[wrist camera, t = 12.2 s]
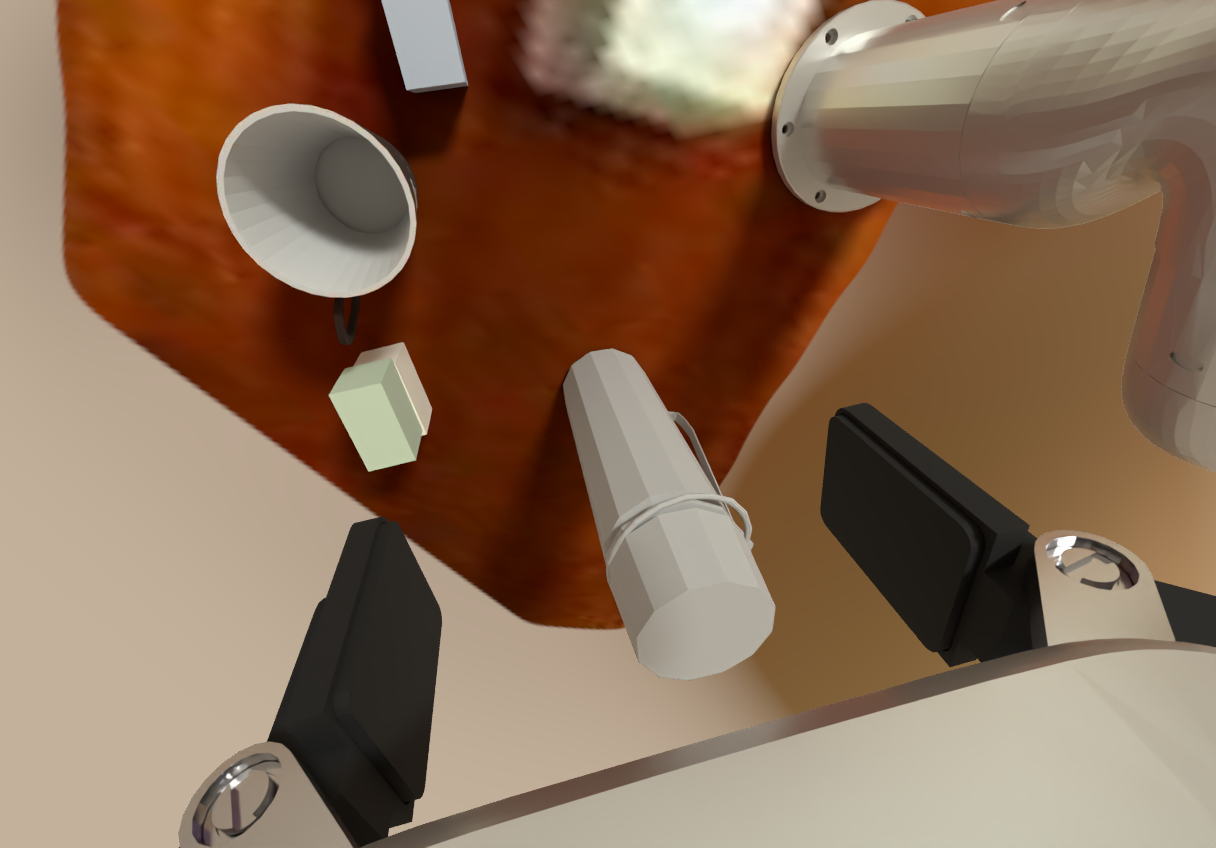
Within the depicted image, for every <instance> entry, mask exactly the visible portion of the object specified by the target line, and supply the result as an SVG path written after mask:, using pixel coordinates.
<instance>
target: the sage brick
mask: <svg viewBox="0 0 1216 848" xmlns="http://www.w3.org/2000/svg"><path fill="white" fill-rule="evenodd" d="M329 397H330V399H331V401H332V403H333V405H334V406H335V408H336V410H337V412H338V414H339V416H340V418H341V420H342V422H343V424H344V426H345V428H346V429H347V431H348V433H349V435H350V437H351V439H352V441H353V443H354V445H355V447H356V449H357V450H358V452H359V454H360V456H361V458H362V460H363V462H364V464H365V466H366V468H367V470H368V472H369V471H373V470H378V469H382V468H386V467H390V466H394V465H398V464H402V463H406V462H411V461H415V460H416V457H417V453H418V448H419V444H420V440H421V435H422V431H423V430H422V427H421V425H420V423H419V420H418V418H417V416H416V413H415V411H414V409H413V406H412V404H411V402H410V399H409V397H408V395H407V392H406V390H405V388H404V385H403V383H402V381H401V378H400V376H399V374H398V371H397V369H396V367H395V364H394V362H393V360H392V358H389V359H384V360H380V361H375V362H371V363H366V364H362V365H358V366H353V367H349V368H345V369H344V370H343V372H342V374H341V375H340V377H339V379H338V380H337V382H336V384H335V385H334V387H333V389H332V390H331V392H330V394H329Z"/></svg>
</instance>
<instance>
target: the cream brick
mask: <svg viewBox="0 0 1216 848" xmlns="http://www.w3.org/2000/svg"><path fill="white" fill-rule="evenodd" d="M389 358H392V360H393V362H394V364H395V367H396V369H397V371H398V374H399V376H400V378H401V381H402V383H403V385H404V388H405V390H406V392H407V395H408V397H409V399H410V402H411V404H412V406H413V409H414V411H415V413H416V416H417V418H418V420H419V423H420V425H421V427H422V430H423V431H422V435H421V436H423V435H427V431H428V426H429V422H430V417H431V412H432V408H431V405H430V403H429V401H428V398H427V396H426V394H425V391H424V389H423V387H422V384H421V382H420V380H419V377H418V375H417V373H416V370H415V368H414V366H413V363H412V361H411V359H410V356H409V354H408V352H407V349H406V347H405V345H404V342H402V343H398V344H394V345H390V346H386V347H382V348H377V349H373V350H369V351H365V352H361V354H360V355H359V357H358V359H357V361H356V362H355V364H354V366H358V365H362V364H366V363H371V362H375V361H380V360H384V359H389Z"/></svg>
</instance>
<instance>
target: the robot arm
mask: <svg viewBox="0 0 1216 848" xmlns="http://www.w3.org/2000/svg"><path fill="white" fill-rule="evenodd" d="M825 36H827V40H826V41H825ZM783 126H785V130H784V132H783V133H782V128H783ZM771 140H772V150H773V156H774V160H775V163H776V167H777V170H778V172H779V174H780V176H781V178H782V180H783V182H784V184H785V186H786V187H787V188H788V189H789V190H790V191H791V193H792V194H793V195H794V196H795V197H796V198H798V199H799V200H800V201H802V202H803V203H805V204H806V205H809V206H811V207H814V208H816V209H819V210H824V211H828V212H849V211H854V210H859V209H862V208H864V207H867V206H869V205H871V204H874V203H876V202H877V201H879V200H880V199H887V200H892V201H897V202H902V203H907V204H912V205H917V206H922V207H926V208H931V209H936V210H941V211H946V212H951V213H956V214H961V215H966V216H971V217H975V218H980V219H986V220H991V221H996V222H1001V223H1006V224H1012V225H1017V226H1022V227H1030V228H1061V227H1067V226H1073V225H1079V224H1083V223H1086V222H1090V221H1093V220H1096V219H1099V218H1102V217H1104V216H1107V215H1110V214H1112V213H1115V212H1117V211H1120V210H1122V209H1124V208H1126V207H1129V206H1131V205H1133V204H1135V203H1137V202H1139V201H1141V200H1143V199H1145V198H1147V197H1149V196H1151V195H1153V194H1155V193H1157V192H1159V191H1160V190H1162V192H1163V208H1162V213H1161V217H1160V222H1159V227H1158V231H1157V235H1156V239H1155V253H1154V256H1153V260H1152V264H1151V268H1150V271H1149V275H1148V278H1147V282H1146V285H1145V289H1144V293H1143V296H1142V300H1141V303H1140V307H1139V310H1138V314H1137V317H1136V322H1135V325H1134V329H1133V332H1132V335H1131V339H1130V343H1129V347H1128V350H1127V354H1126V358H1125V363H1124V369H1123V374H1122V380H1121V392H1122V400H1123V405H1124V408H1125V411H1126V413H1127V415H1128V417H1129V419H1130V421H1131V422H1132V424H1133V425H1134V426H1135V427H1136V428H1137V429H1138V431H1139V432H1140V433H1141V434H1142V435H1143V436H1144V437H1145V438H1146V439H1148V440H1149V441H1150V442H1152V443H1153V444H1155V445H1156V446H1157V447H1159V448H1161V449H1162V450H1164V451H1166V452H1167V453H1169V454H1170V455H1172V456H1174V457H1177V458H1179V459H1181V460H1183V461H1185V462H1188V463H1190V464H1192V465H1195V466H1197V467H1200V468H1203V469H1205V470H1208V471H1211V472H1215V473H1216V0H997V1H993V2H989V3H984V4H980V5H976V6H972V7H968V8H963V9H959V10H955V11H951V12H947V13H942V14H938V15H934V16H930V17H925V16H924V15H923V14H922V13H921V12H920V11H919V10H917V9H915V8H914V7H912V6H910V5H909V4H907V3H903V2H899V1H895V0H872V1H868V2H864V3H861V4H857V5H855V6H852V7H850V8H847V9H845V10H843V11H840V12H839V13H837V14H836V15H834V16H833V17H831V18H830V19H828V20H827V21H825V22H824V23H823V24H822V25H821V26H820V27H819V28H817V29H816V30H815V31H814V32H813V33H812V34H811V35H810V36H809V37H808V38H807V40H806V41H805V42H804V44H803V45H802V46H801V48H800V49H799V50H798V52H797V53H796V54H795V56H794V58H793V60H792V61H791V63H790V65H789V67H788V69H787V71H786V73H785V74H784V77H783V80H782V82H781V85H780V88H779V90H778V93H777V96H776V101H775V106H774V110H773V115H772V129H771ZM816 193H817V195H816ZM815 195H816V197H815ZM821 516H822V519H823V521H824V523H825V525H826V526H827V527H828V529H829V530H830V531H831V532H832V534H833V535H834V536H835V537H836V538H837V540H838V541H839V542H840V543H841V545H842V546H843V547H844V548H845V549H846V551H847V552H848V553H849V554H850V556H851V557H852V558H853V559H854V561H855V562H856V563H857V564H858V565H859V567H860V568H861V569H862V570H863V571H864V573H865V574H866V575H867V576H868V577H869V579H870V580H871V581H872V583H873V584H874V585H875V586H876V587H877V589H878V590H879V591H880V592H881V594H882V595H883V596H884V597H885V598H886V600H887V601H888V602H889V603H890V604H891V606H892V607H893V608H894V609H895V611H896V612H897V613H898V614H899V615H900V617H901V618H902V619H903V620H904V622H905V623H906V624H907V625H908V627H909V628H910V629H911V630H912V631H913V632H914V634H915V635H916V636H917V638H918V639H919V640H920V641H921V642H922V644H923V645H924V646H925V647H926V648H927V649H928V650H930V651H932V652H938V653H939V655H940V656H941V657H942V658H943V659H944V661H945V662H946V663H947V664H948V665H949V667H953V666H956V665H959V664H963V663H967V662H970V661H974V660H976V659H977V658H978V659H979V661H980V662H981V663H978V664H974V665H971V666H967V667H963V668H959V669H955V670H951V671H947V672H944V673H940V674H937V675H933V676H929V677H926V678H923V679H919V680H915V681H912V682H908V683H905V684H902V685H897V686H894V687H890V688H887V689H884V690H880V691H876V692H873V693H869V694H866V695H862V696H858V697H855V698H851V699H848V700H844V701H841V702H837V703H834V704H830V705H827V706H823V707H819V708H816V709H812V710H809V711H805V712H802V713H798V714H795V715H791V716H788V717H784V718H781V719H778V720H774V721H771V722H767V723H763V724H760V725H757V726H753V727H750V728H746V729H743V730H739V731H736V732H732V733H729V734H725V735H722V736H718V737H715V738H711V739H708V740H705V741H701V742H698V743H694V744H691V745H687V746H684V747H680V748H677V749H673V750H670V751H666V752H663V753H659V754H656V755H653V756H649V757H646V758H642V759H639V760H635V761H632V762H629V763H625V764H622V765H618V766H615V767H612V768H608V769H605V770H601V771H598V772H595V773H591V774H588V775H584V776H581V777H577V778H574V779H571V780H568V781H564V782H561V783H557V784H554V785H550V786H547V787H543V788H540V789H536V790H533V791H530V792H526V793H523V794H520V795H516V796H513V797H509V798H506V799H503V800H500V801H497V802H493V803H490V804H487V805H484V806H481V807H478V808H474V809H471V810H468V811H465V812H462V813H458V814H455V815H452V816H449V817H445V818H442V819H439V820H436V821H433V822H429V823H426V824H423V825H420V826H417V827H414V828H412V829H408V830H406V831H403V832H400V833H398V834H395V835H392V836H389V837H388V832H389V828H392V827H395V826H399V825H402V824H406V823H409V822H412V818H413V808H414V801H415V800H416V799H420V798H421V797H422V795H423V793H424V788H425V781H426V771H427V762H428V753H429V742H430V733H431V723H432V714H433V704H434V695H435V685H436V675H437V666H438V656H439V647H440V637H441V627H442V616H441V611H440V607H439V605H438V603H437V601H436V599H435V597H434V595H433V593H432V591H431V589H430V587H429V585H428V583H427V581H426V578H425V577H424V575H423V572H422V571H421V569H420V566H419V565H418V563H417V560H416V558H415V556H414V554H413V552H412V551H411V548H410V547H409V544H408V542H407V540H406V538H405V536H404V534H403V532H402V530H401V528H400V526H399V525H398V523H397V522H396V521H393V522H389V521H388V520H387V519H386V518H385V517H378V518H374V519H370V520H366V521H362V522H357V523H354V524H353V525H352V527H351V529H350V531H349V534H348V537H347V540H346V543H345V545H344V548H343V551H342V554H341V557H340V560H339V563H338V565H337V568H336V571H335V574H334V577H333V580H332V582H331V585H330V588H329V591H328V594H327V597H326V598H324V599H323V600H322V601H320V602H319V604H318V606H317V608H316V610H315V612H314V615H313V618H312V620H311V623H310V626H309V629H308V631H307V634H306V636H305V639H304V642H303V645H302V648H301V650H300V653H299V656H298V658H297V661H296V664H295V667H294V669H293V672H292V675H291V678H290V681H289V683H288V686H287V688H286V691H285V694H284V697H283V700H282V702H281V705H280V708H279V710H278V713H277V716H276V719H275V721H274V724H273V727H272V730H271V732H270V735H269V738H268V740H267V742H265V743H259V744H255V745H253V746H250V747H248V748H246V749H244V750H242V751H239V752H238V753H237V754H235V755H234V756H232V757H231V758H229V759H228V760H227V761H225V762H224V763H222V764H221V765H220V766H219V767H218V768H217V769H216V770H215V771H214V772H213V773H212V774H211V775H210V776H209V777H208V778H207V779H206V780H205V781H204V782H203V784H202V785H201V787H200V788H199V789H198V790H197V792H196V793H195V794H194V796H193V797H192V799H191V801H190V803H189V805H188V807H187V809H186V811H185V813H184V815H183V818H182V821H181V825H180V829H179V842H180V847H179V848H1216V596H1213V595H1209V594H1205V593H1201V592H1197V591H1194V590H1190V589H1186V588H1182V587H1178V586H1174V585H1171V584H1167V583H1163V582H1159V581H1155V580H1154V579H1153V576H1152V574H1151V573H1150V571H1149V569H1148V568H1147V566H1146V564H1145V563H1144V562H1143V561H1141V560H1140V559H1139V558H1138V557H1137V556H1136V555H1135V554H1134V553H1132V552H1131V551H1129V550H1127V549H1126V548H1124V547H1122V546H1121V545H1119V544H1117V543H1115V542H1113V541H1110V540H1108V539H1105V538H1103V537H1101V536H1097V535H1093V534H1090V533H1086V532H1081V531H1072V530H1058V531H1051V532H1048V533H1046V534H1043V535H1041V536H1040V537H1039V538H1038V539H1037V538H1036V537H1035V536H1033V535H1032V534H1031V533H1029V532H1028V529H1029V525H1028V524H1027V523H1026V522H1024V521H1023V520H1022V519H1020V518H1019V517H1018V516H1016V515H1015V514H1014V513H1012V512H1011V511H1010V510H1009V509H1007V508H1006V507H1004V506H1003V505H1002V504H1001V503H999V502H998V501H996V500H995V499H994V498H993V497H991V496H990V495H989V494H987V493H986V492H985V491H983V490H982V489H981V488H979V487H978V486H977V485H975V484H974V483H973V482H972V481H970V480H969V479H968V478H966V477H965V476H964V475H962V474H961V473H960V472H958V471H957V470H956V469H954V468H953V467H952V466H950V465H949V464H948V463H947V462H945V461H944V460H943V459H941V458H940V457H939V456H937V455H936V454H935V453H933V452H932V451H930V450H929V449H928V448H927V447H925V446H924V445H923V444H921V443H920V442H919V441H917V440H916V439H915V438H914V437H912V436H911V435H910V434H908V433H906V431H904V430H903V429H901V428H900V427H899V426H898V425H896V424H895V423H894V422H892V421H891V420H890V419H888V418H887V417H886V416H884V415H883V414H882V413H880V412H879V411H878V410H877V409H875V408H874V407H873V406H871V405H870V404H867V403H861V404H857V405H853V406H848V407H845V408H840V409H838V410H837V412H836V414H835V417H832V418H831V419H830V421H829V427H828V437H827V448H826V458H825V468H824V478H823V488H822V498H821Z"/></svg>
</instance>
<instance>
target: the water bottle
mask: <svg viewBox="0 0 1216 848" xmlns="http://www.w3.org/2000/svg"><path fill="white" fill-rule="evenodd" d="M563 390H564V396H565V403H566V408H567V412H568V416H569V420H570V424H571V428H572V432H573V436H574V440H575V443H576V447H577V451H578V455H579V459H580V463H581V467H582V471H583V475H584V479H585V483H586V487H587V491H588V495H589V499H590V503H591V507H592V511H593V515H594V519H595V523H596V527H597V531H598V535H599V539H600V543H601V547H602V551H603V555H604V559H605V563H606V574H607V582H608V584H609V586H610V589H611V590H612V593H613V596H614V598H615V601H616V604H617V606H618V609H619V612H620V614H621V617H622V619H623V622H624V625H625V627H626V630H627V633H628V635H629V638H630V640H631V643H632V646H633V648H634V651H635V654H636V656H637V659H638V661H639V663H641V664H642V665H644V666H645V667H646V668H647V669H649V670H650V671H651V672H652V673H654V674H655V675H656V676H658V677H663V678H672V679H681V680H692V679H697V678H701V677H705V676H709V675H714V674H718V673H722V672H724V671H726V670H728V669H729V668H731V667H733V666H734V665H736V664H738V663H739V662H741V661H743V660H745V659H746V658H748V657H750V656H751V655H753V654H754V653H755V651H756V650H757V649H758V648H759V647H760V645H761V644H762V643H763V642H764V641H765V639H766V638H767V637H768V636H769V634H770V633H771V632H772V630H773V621H774V614H775V604H774V602H773V600H772V598H771V595H770V593H769V591H768V589H767V586H766V584H765V582H764V580H763V578H762V575H761V573H760V571H759V569H758V566H757V564H756V562H755V560H754V557H753V556H752V553H751V549H752V547H753V545H754V544H753V542H752V541H751V540H750V537H751V533H752V526H751V523H750V520H749V517H748V513H747V511H746V510H745V509H744V508H742V507H741V506H740V505H739V504H738V503H737V502H736V501H735V500H734V499H733V498H730V497H726V496H723V495H722V493H721V491H720V489H719V486H718V484H717V482H716V479H715V477H714V475H713V473H712V470H711V468H710V466H709V463H708V461H707V459H706V457H705V454H704V452H703V450H702V447H701V445H700V443H699V441H698V438H697V436H696V434H695V431H694V429H693V428H692V427H691V425H690V424H689V423H688V421H687V420H686V419H685V418H684V417H683V416H682V415H681V414H680V413H679V412H669V411H667V409H666V408H665V406H664V404H663V402H662V401H661V399H660V397H659V396H658V394H657V392H656V391H655V389H654V387H653V386H652V384H651V382H650V381H649V379H648V377H647V376H646V374H645V372H644V371H643V369H642V368H641V367H640V365H639V364H638V363H637V361H636V360H635V359H634V357H633V356H631V355H629V354H626V353H623V352H621V351H618V350H615V349H606V350H599V351H593V352H589V353H588V354H586V355H585V356H584V357H582V358H581V359H580V360H578V361H577V362H576V363H574V364H573V365H572V366H571V368H570V370H569V372H568V375H567V377H566V379H565V381H564V383H563ZM674 421H676V422H677V423H678V424H679V425H680V426H681V427H682V428H683V429H684V431H685V432H686V433H687V435H688V436H689V438H690V440H691V442H692V445H693V447H694V449H695V451H696V454H697V456H698V458H699V461H700V463H701V465H702V468H703V470H704V471H703V470H702V468H701V466H700V465H699V463H698V461H697V460H696V458H695V456H694V455H693V453H692V451H691V449H690V448H689V446H688V444H687V443H686V441H685V439H684V438H683V436H682V434H681V433H680V431H679V429H678V428H677V426H676V424H675V423H674ZM704 472H705V473H704ZM726 504H728V505H729V506H731V507H732V508H734V509H735V510H736V511H737V512H738V513H739V514H740V516H741V518H742V520H743V522H744V528H745V530H744V532H743V531H742V530H741V529H740V528H739V527H738V526H737V525H736V523H735V522H734V520H733V518H732V516H731V514H730V511H729V509H728V507H727V505H726Z"/></svg>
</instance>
